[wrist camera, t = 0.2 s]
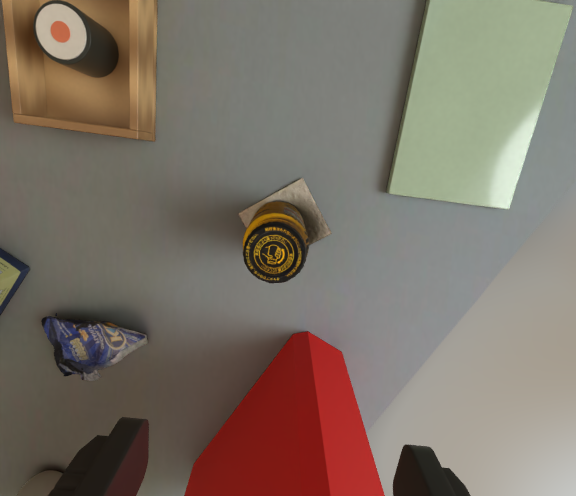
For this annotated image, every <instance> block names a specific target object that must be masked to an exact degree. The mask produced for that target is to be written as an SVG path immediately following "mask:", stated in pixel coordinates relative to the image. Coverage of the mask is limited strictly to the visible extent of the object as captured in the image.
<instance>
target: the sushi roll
mask: <svg viewBox="0 0 576 496" xmlns="http://www.w3.org/2000/svg"><path fill="white" fill-rule="evenodd" d="M33 29H34V35H35V38H36V41H37V43H38V45H39V47H40V48H41V50H42V51H43V52H44V53H45V54H46V55H47V56H48V57H49V58H50V59H52V60H53V61H55V62H57V63H60V64H62V65H64V66H67V67H69V68H72V69H74V70H76V71H79V72H81V73H83V74H86V75H88V76H91V77H96V78H100V77H105V76H107V75H109V74H110V73H111V72H112V71H113V70H114V69H115V67H116V65H117V63H118V57H119V53H118V47H117V44H116V41H115V39H114V37H113V36H112V35H111V33H110V32H109V31H108V30H107V29H105V28H104V27H103V26H101V25H100V24H99V23H97V22H96V21H94V20H93V19H92V18H90V17H89V16H88V15H86V14H85V13H83V12H82V11H81V10H79V9H78V8H77V7H75V6H74V5H72V4H70V3H68V2H66V1H62V0H52V1H48V2H46V3H44V4H43V5H42V6H41V7H40V8H39V9H38V11H37V12H36V14H35V17H34V23H33Z"/></svg>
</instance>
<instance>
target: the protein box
mask: <svg viewBox="0 0 576 496" xmlns="http://www.w3.org/2000/svg"><path fill="white" fill-rule="evenodd" d="M29 270H30V268H29V267H28V266H27V265H25V264H24V263H22V262H21V261H19V260H17V259H16V258H14V257H13V256H11V255H10V254H8V253H7V252H5V251H4V250H2V249H1V248H0V315H1V313H2V312H3V310H4V309H5V307H6V305H7V304H8V302H9V301H10V299H11V298H12V296H13V295H14V293H15V292H16V290H17V288H18V287H19V285H20V284H21V282H22V281H23V279H24V278H25V276H26V275H27V273H28V271H29Z"/></svg>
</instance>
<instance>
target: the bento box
mask: <svg viewBox="0 0 576 496" xmlns="http://www.w3.org/2000/svg"><path fill="white" fill-rule="evenodd" d="M48 1H52V0H2V5H3V16H4V26H5V37H6V47H7V58H8V68H9V79H10V89H11V100H12V110H13V113H14V114H13V119H14V122H15V123H21V124H29V125H36V126H44V127H51V128H58V129H66V130H73V131H81V132H88V133H95V134H103V135H110V136H118V137H125V138H132V139H140V140H147V141H155V114H156V55H157V0H62V1H66V2H68V3H70V4H72V5H74V6H75V7H77V8H78V9H79V10H81V11H82V12H83V13H85V14H86V15H88V16H89V17H90V18H92V19H93V20H94V21H96V22H97V23H99V24H100V25H101V26H103V27H104V28H105V29H107V30H108V31H109V32H110V33H111V35H112V36H113V37H114V39H115V41H116V44H117V47H118V53H119V57H118V63H117V65H116V67H115V69H114V70H113V71H112V72H111V73H110V74H109V75H107V76H105V77H100V78H96V77H91V76H88V75H86V74H83V73H81V72H79V71H76V70H74V69H72V68H69V67H67V66H64V65H62V64H60V63H57V62H55V61H53V60H52V59H50V58H49V57H48V56H47V55H46V54H45V53H44V52H43V51H42V50H41V48H40V47H39V45H38V43H37V41H36V38H35V35H34V29H33V23H34V17H35V14H36V12H37V11H38V9H39V8H40V7H41V6H42V5H43V4H44V3H46V2H48Z"/></svg>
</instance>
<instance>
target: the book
mask: <svg viewBox="0 0 576 496" xmlns="http://www.w3.org/2000/svg"><path fill="white" fill-rule="evenodd" d="M184 496H385V495H384V492H383V489H382V485H381V482H380V478H379V475H378V472H377V468H376V465H375V462H374V458H373V455H372V452H371V448H370V445H369V442H368V438H367V435H366V432H365V428H364V425H363V422H362V418H361V415H360V411H359V408H358V405H357V401H356V398H355V395H354V391H353V388H352V385H351V381H350V378H349V375H348V371H347V368H346V365H345V361H344V358H343V355H342V352H341V351H339V350H338V349H336V348H334V347H333V346H331V345H329V344H328V343H326V342H325V341H323V340H321V339H320V338H318V337H316V336H315V335H313V334H311V333H310V332H308V331H307V332H302V333H296V334H293V335H292V336H291V338H290V339H289V340H288V341H287V343H286V344H285V345H284V347H283V348H282V349H281V351H280V352H279V353H278V355H277V356H276V357H275V358H274V360H273V361H272V362H271V364H270V365H269V366H268V368H267V369H266V370H265V372H264V373H263V374H262V375H261V377H260V378H259V379H258V381H257V382H256V383H255V385H254V386H253V387H252V389H251V390H250V391H249V392H248V394H247V395H246V396H245V398H244V399H243V400H242V402H241V403H240V404H239V405H238V407H237V408H236V409H235V411H234V412H233V413H232V415H231V416H230V417H229V419H228V420H227V421H226V422H225V424H224V425H223V426H222V428H221V429H220V430H219V432H218V433H217V434H216V436H215V437H214V438H213V439H212V441H211V442H210V443H209V445H208V446H207V447H206V449H205V450H204V451H203V453H202V454H201V455H200V456H199V458H198V459H197V460H196V462H195V463H194V465H193V468H192V471H191V475H190V478H189V482H188V485H187V488H186V492H185V495H184Z"/></svg>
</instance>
